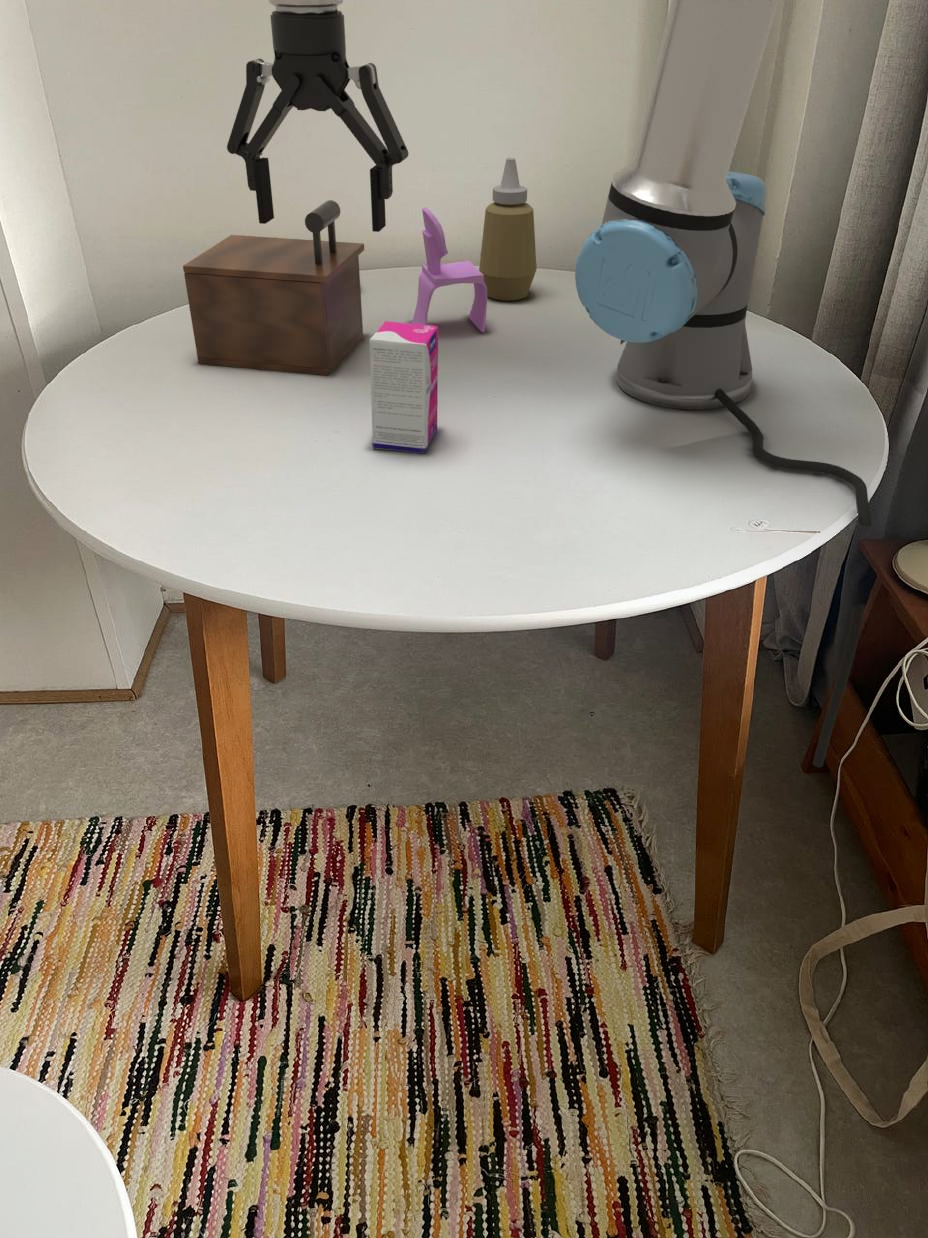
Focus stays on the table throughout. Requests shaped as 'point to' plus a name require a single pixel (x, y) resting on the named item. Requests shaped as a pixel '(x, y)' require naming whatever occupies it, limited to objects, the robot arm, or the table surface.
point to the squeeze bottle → (508, 239)
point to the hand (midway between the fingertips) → (322, 224)
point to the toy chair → (446, 275)
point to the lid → (282, 253)
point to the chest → (275, 321)
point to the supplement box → (404, 386)
